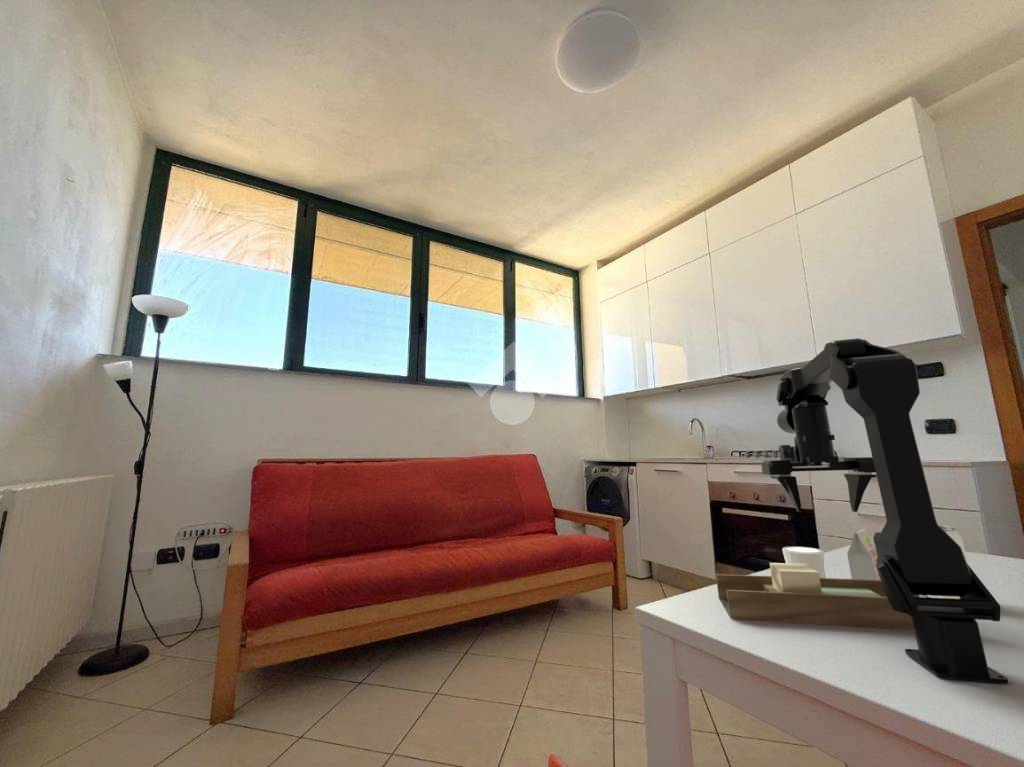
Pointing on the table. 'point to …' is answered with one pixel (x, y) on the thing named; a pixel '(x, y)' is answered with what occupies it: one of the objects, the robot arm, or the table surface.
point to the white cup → (806, 557)
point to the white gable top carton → (863, 557)
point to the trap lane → (811, 602)
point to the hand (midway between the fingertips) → (826, 511)
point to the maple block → (795, 578)
